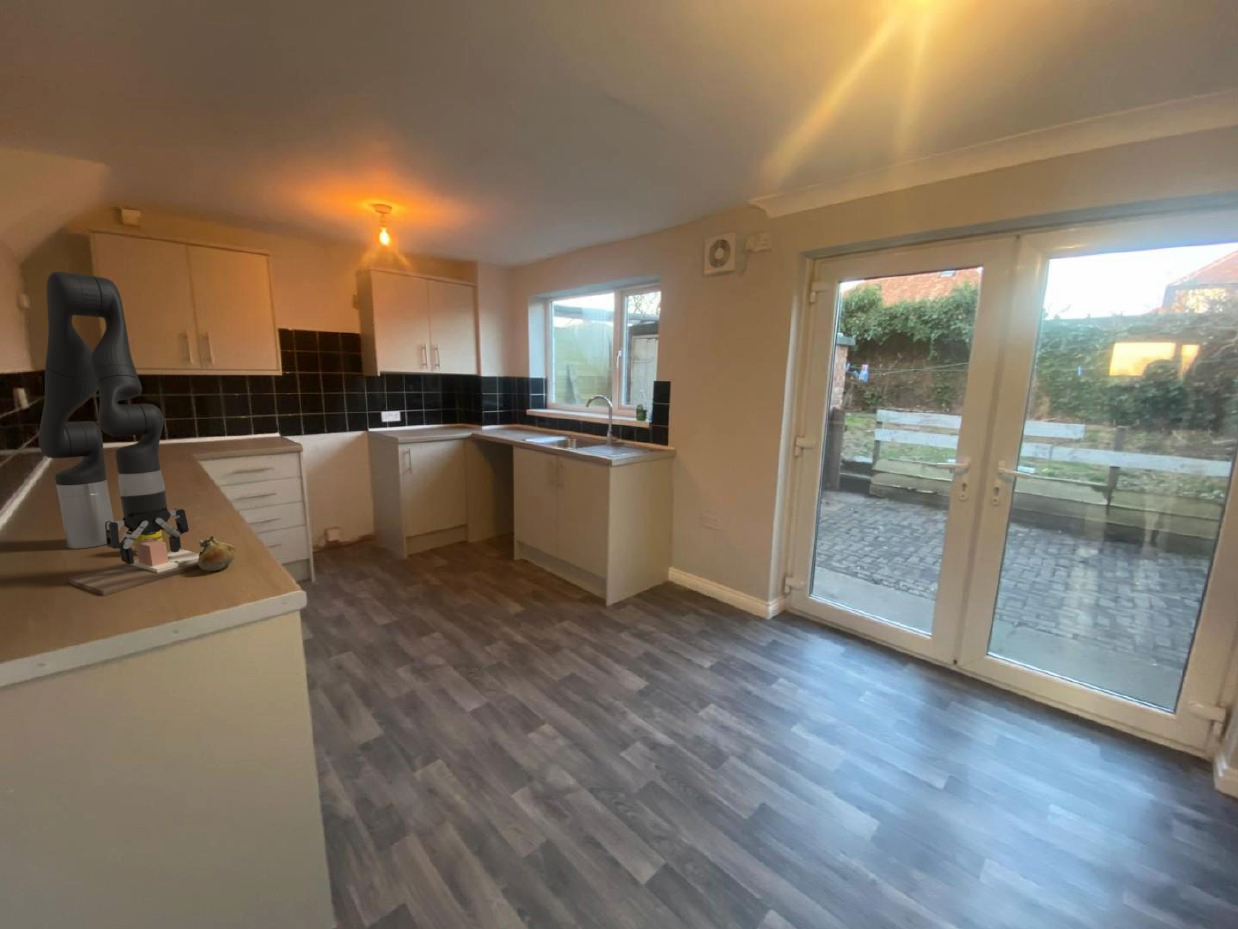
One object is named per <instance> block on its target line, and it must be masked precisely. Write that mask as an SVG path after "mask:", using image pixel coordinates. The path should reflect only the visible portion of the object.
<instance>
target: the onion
mask: <svg viewBox="0 0 1238 929" xmlns="http://www.w3.org/2000/svg"><path fill="white" fill-rule="evenodd" d="M198 544H199V547H201V548H203V550H202V551H199V553H198V554H199V559H198V565H199V567H200V568H199V569H201V570H202V571H206V572H215V571H216V572H217V570H218V571H222V570H225V569H226V568H228V567H229V566H230V565H231V563H233V561H234V560H235V559H236V556H237V549H236V547H235V546H234V545H233V544H231V543H228V542H227V543H226V542H222V541H218V540H217V539H216V536H213V535H210V536H209V537H207V538H205V539H204V540H202V539H200V541H198Z"/></svg>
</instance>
